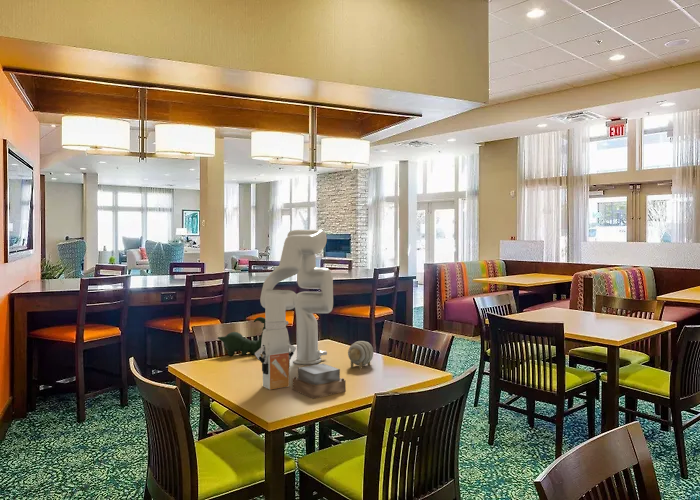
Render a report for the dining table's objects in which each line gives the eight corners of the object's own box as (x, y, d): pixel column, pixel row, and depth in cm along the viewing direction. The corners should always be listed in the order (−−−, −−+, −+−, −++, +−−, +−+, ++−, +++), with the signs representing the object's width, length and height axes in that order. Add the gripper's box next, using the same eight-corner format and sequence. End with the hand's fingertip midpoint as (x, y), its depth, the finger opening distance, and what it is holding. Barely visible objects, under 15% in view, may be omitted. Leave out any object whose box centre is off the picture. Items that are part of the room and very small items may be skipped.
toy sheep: (341, 369, 218) (341, 343, 217) (358, 360, 233) (358, 336, 232) (364, 372, 213) (363, 345, 213) (380, 363, 228) (380, 338, 228)
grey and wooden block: (324, 382, 198) (324, 362, 197) (345, 391, 186) (345, 369, 186) (292, 389, 189) (292, 367, 189) (313, 398, 178) (312, 375, 178)
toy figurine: (267, 354, 255) (215, 353, 248) (270, 316, 255) (218, 314, 248) (270, 358, 246) (216, 357, 239) (273, 318, 246) (219, 316, 239)
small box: (270, 390, 188) (269, 355, 188) (262, 386, 193) (262, 352, 193) (289, 386, 193) (289, 352, 193) (281, 382, 198) (281, 349, 198)
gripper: (290, 321, 201) (291, 366, 201) (249, 326, 190) (250, 373, 191) (300, 324, 195) (301, 370, 195) (259, 329, 184) (259, 377, 185)
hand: (276, 371), depth 193 cm, fingers closed on small box, 8 cm apart
